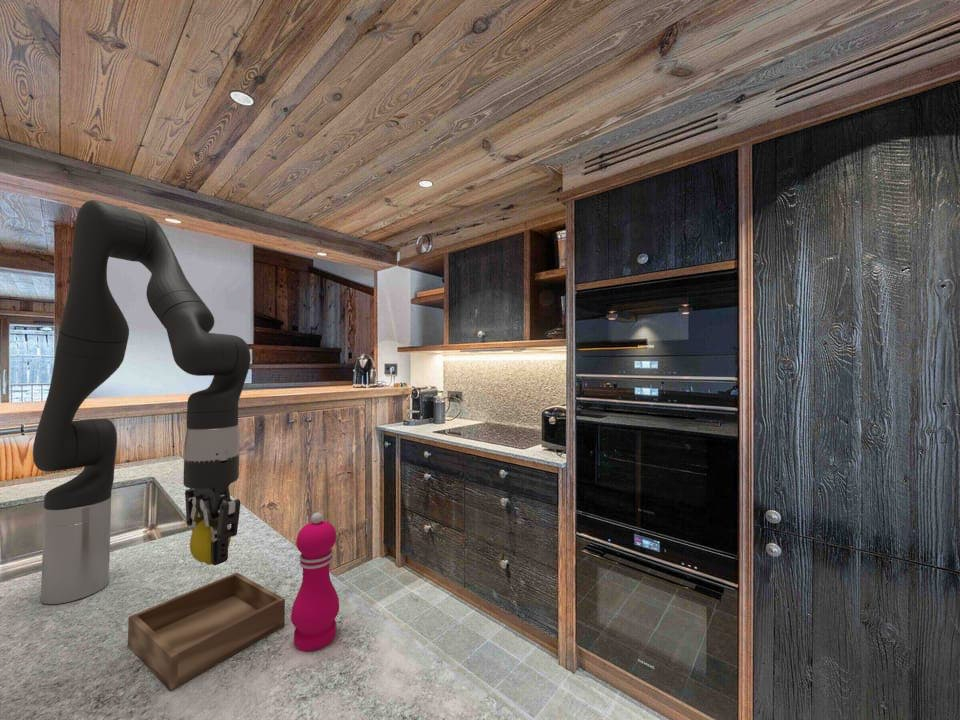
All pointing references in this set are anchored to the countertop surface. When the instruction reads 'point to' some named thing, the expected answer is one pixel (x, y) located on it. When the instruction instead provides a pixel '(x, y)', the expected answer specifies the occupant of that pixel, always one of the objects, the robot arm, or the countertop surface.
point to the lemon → (202, 542)
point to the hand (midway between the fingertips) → (210, 557)
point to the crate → (203, 627)
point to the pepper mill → (315, 587)
